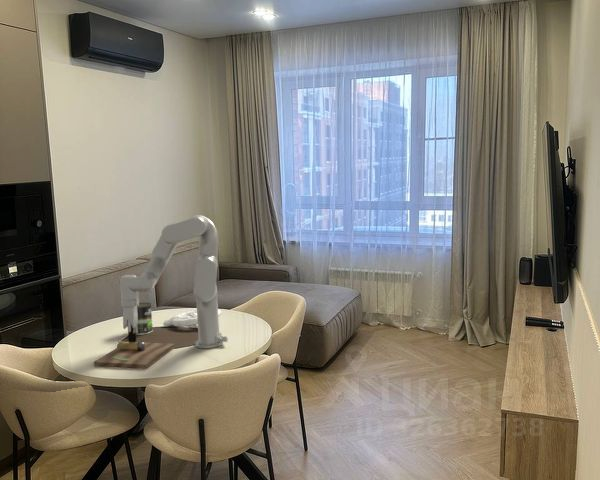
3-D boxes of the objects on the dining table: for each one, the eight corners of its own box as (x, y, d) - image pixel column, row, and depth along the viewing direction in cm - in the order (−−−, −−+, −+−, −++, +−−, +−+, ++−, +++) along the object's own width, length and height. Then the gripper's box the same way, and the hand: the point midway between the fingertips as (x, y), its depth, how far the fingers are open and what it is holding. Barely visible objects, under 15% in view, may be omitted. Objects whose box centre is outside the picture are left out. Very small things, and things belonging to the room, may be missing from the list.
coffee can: (156, 329, 272) (154, 302, 270) (147, 335, 262) (144, 307, 260) (138, 328, 274) (136, 302, 272) (128, 334, 264) (125, 307, 262)
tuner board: (174, 348, 241) (174, 343, 241) (146, 369, 216) (145, 364, 216) (127, 345, 247) (127, 341, 246) (94, 366, 222) (93, 361, 221)
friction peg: (146, 348, 235) (145, 341, 234) (142, 350, 232) (142, 343, 232) (120, 347, 238) (120, 339, 237) (117, 349, 235) (116, 342, 234)
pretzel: (160, 331, 272) (158, 319, 272) (184, 320, 295) (182, 309, 294) (208, 327, 263) (206, 315, 263) (229, 316, 286) (227, 304, 285)
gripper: (125, 298, 246) (127, 336, 248) (117, 306, 231) (120, 347, 233) (141, 298, 246) (144, 336, 249) (135, 306, 232) (137, 346, 234)
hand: (132, 341), depth 241 cm, fingers closed
